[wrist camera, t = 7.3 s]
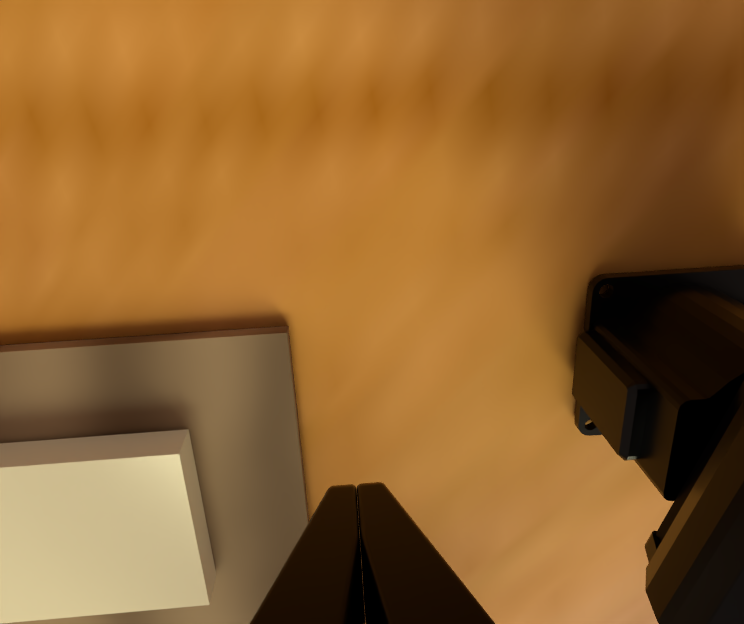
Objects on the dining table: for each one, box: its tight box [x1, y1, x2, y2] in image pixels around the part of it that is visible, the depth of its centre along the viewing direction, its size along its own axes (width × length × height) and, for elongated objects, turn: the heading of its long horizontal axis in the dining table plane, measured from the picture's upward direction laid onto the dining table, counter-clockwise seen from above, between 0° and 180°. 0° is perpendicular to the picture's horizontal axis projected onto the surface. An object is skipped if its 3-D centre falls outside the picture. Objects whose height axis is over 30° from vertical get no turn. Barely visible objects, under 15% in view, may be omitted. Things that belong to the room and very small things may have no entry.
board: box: [0, 326, 309, 624], centre depth 23 cm, size 14×14×1 cm
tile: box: [0, 429, 216, 624], centre depth 22 cm, size 2×7×8 cm
